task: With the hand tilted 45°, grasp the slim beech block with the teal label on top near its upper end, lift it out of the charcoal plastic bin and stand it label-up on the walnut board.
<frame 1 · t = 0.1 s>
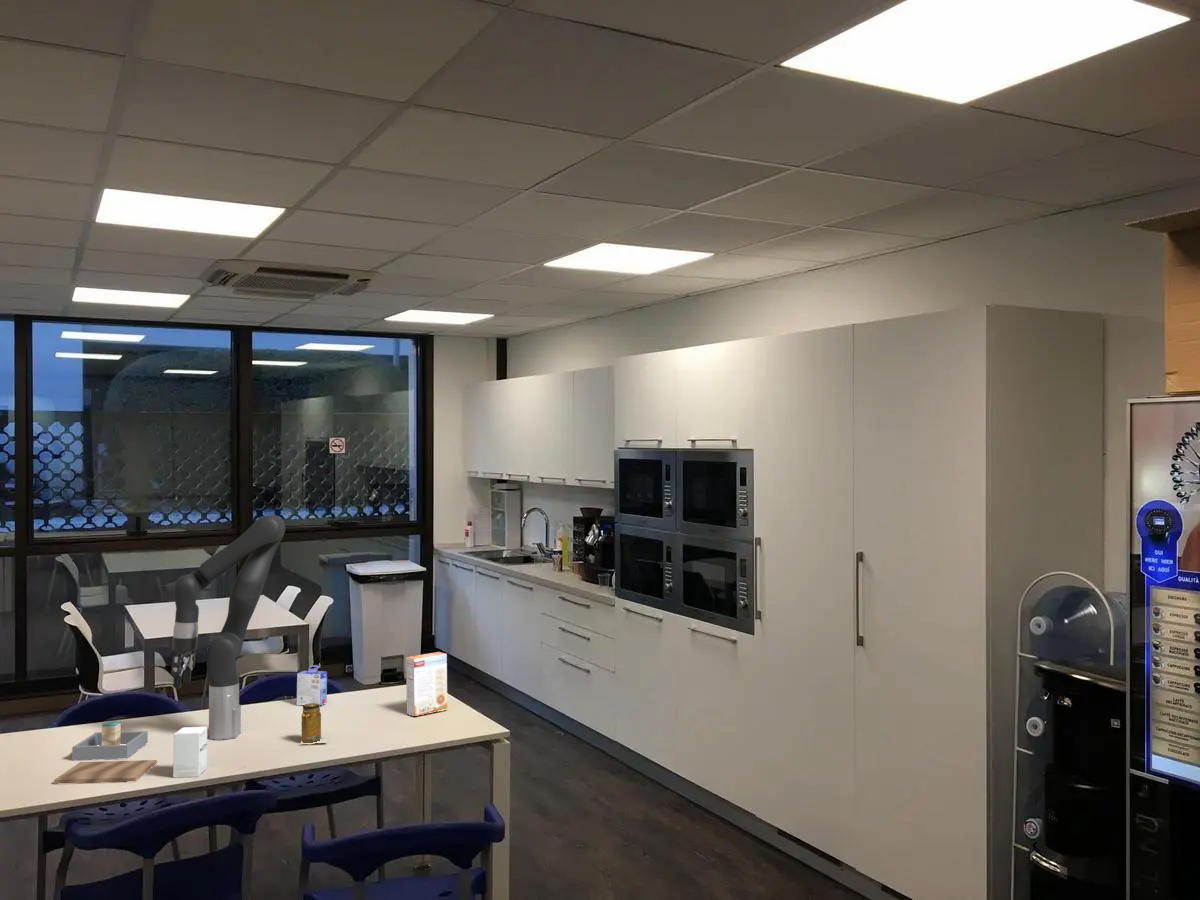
hand: (181, 684, 309), 17 cm above the table, tool pointing down, fingers open, 8 cm apart
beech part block: (111, 751, 293), resting in parts bin
parts bin: (111, 751, 294), on the table
walnut board: (107, 773, 272), on the table
ink cartridge box: (312, 705, 352), on the table
condiment: (313, 742, 304), on the table
supplement box: (190, 774, 272), on the table
cracker box: (426, 713, 340), on the table
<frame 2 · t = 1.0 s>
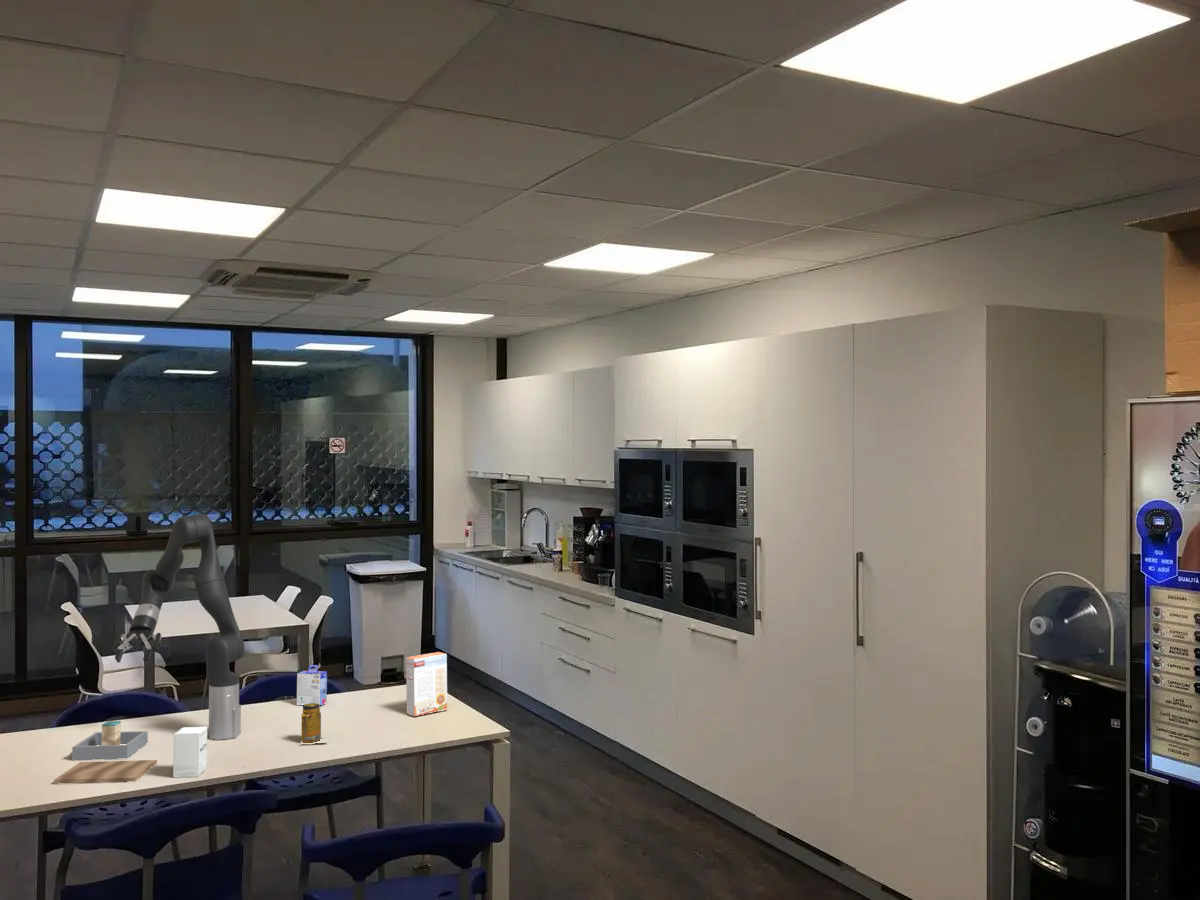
hand: (131, 661, 309), 25 cm above the table, tool tilted 45°, fingers open, 8 cm apart
nothing on the table moved.
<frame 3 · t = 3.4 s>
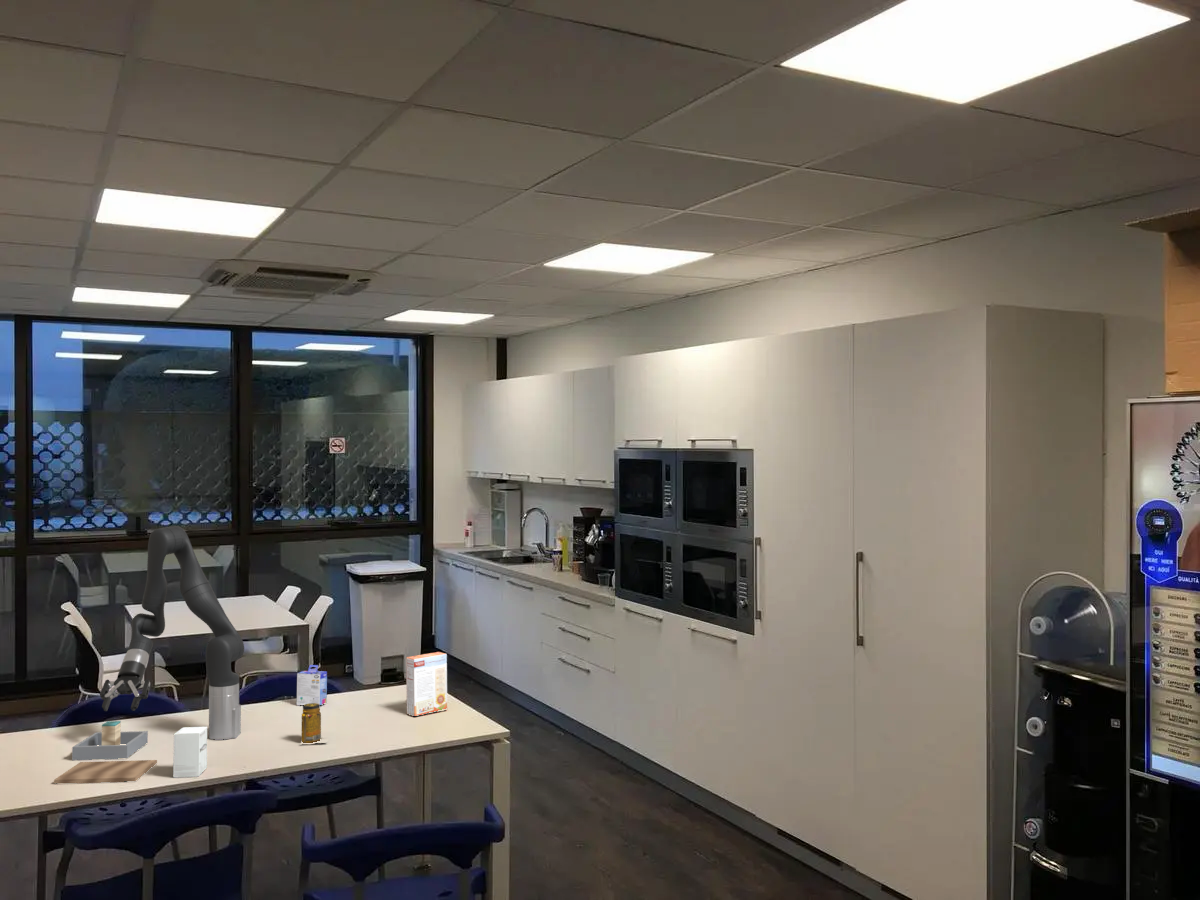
hand: (118, 709, 299), 12 cm above the table, tool tilted 45°, fingers open, 8 cm apart
nothing on the table moved.
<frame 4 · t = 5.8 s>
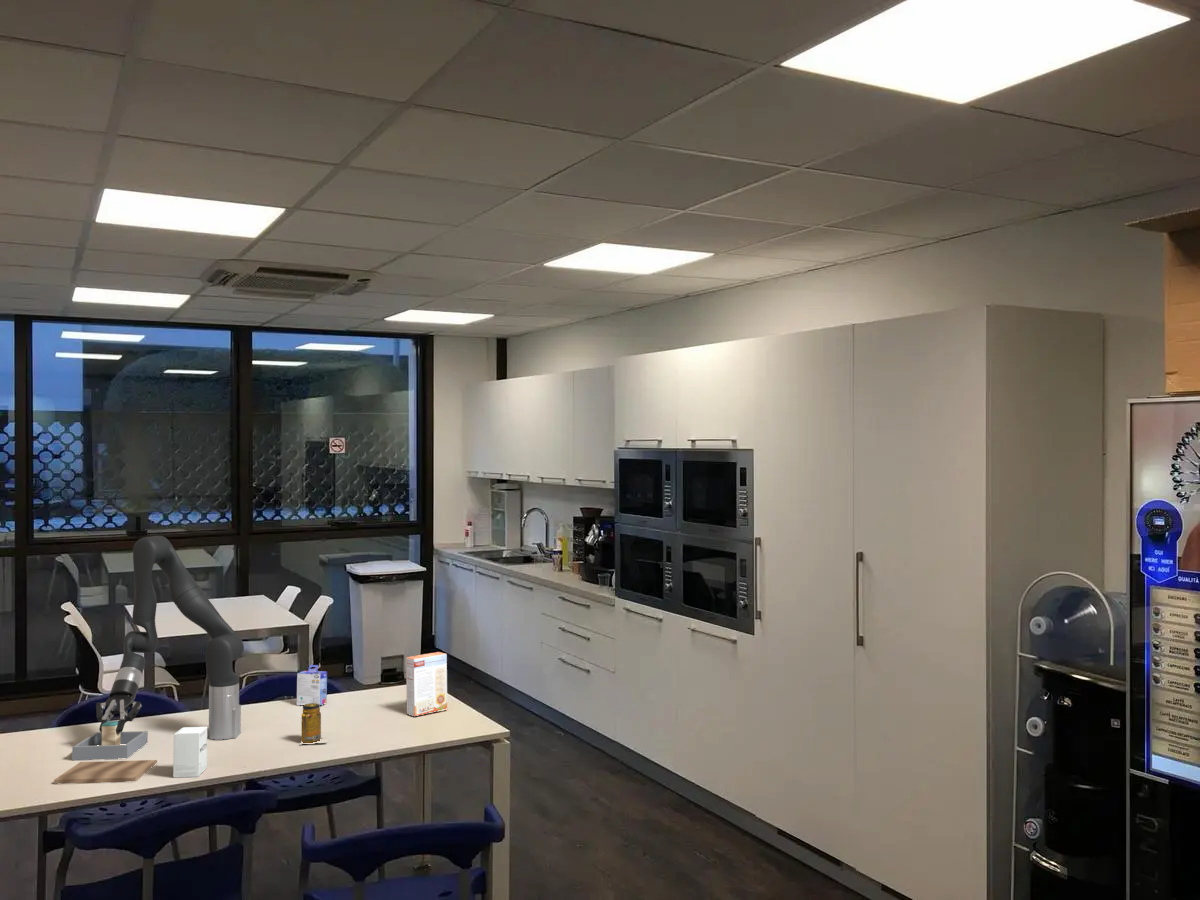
hand: (110, 732, 293), 6 cm above the table, tool tilted 45°, fingers closed on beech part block, 4 cm apart
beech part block: (111, 751, 293), resting in parts bin, touching gripper
everything else where it was.
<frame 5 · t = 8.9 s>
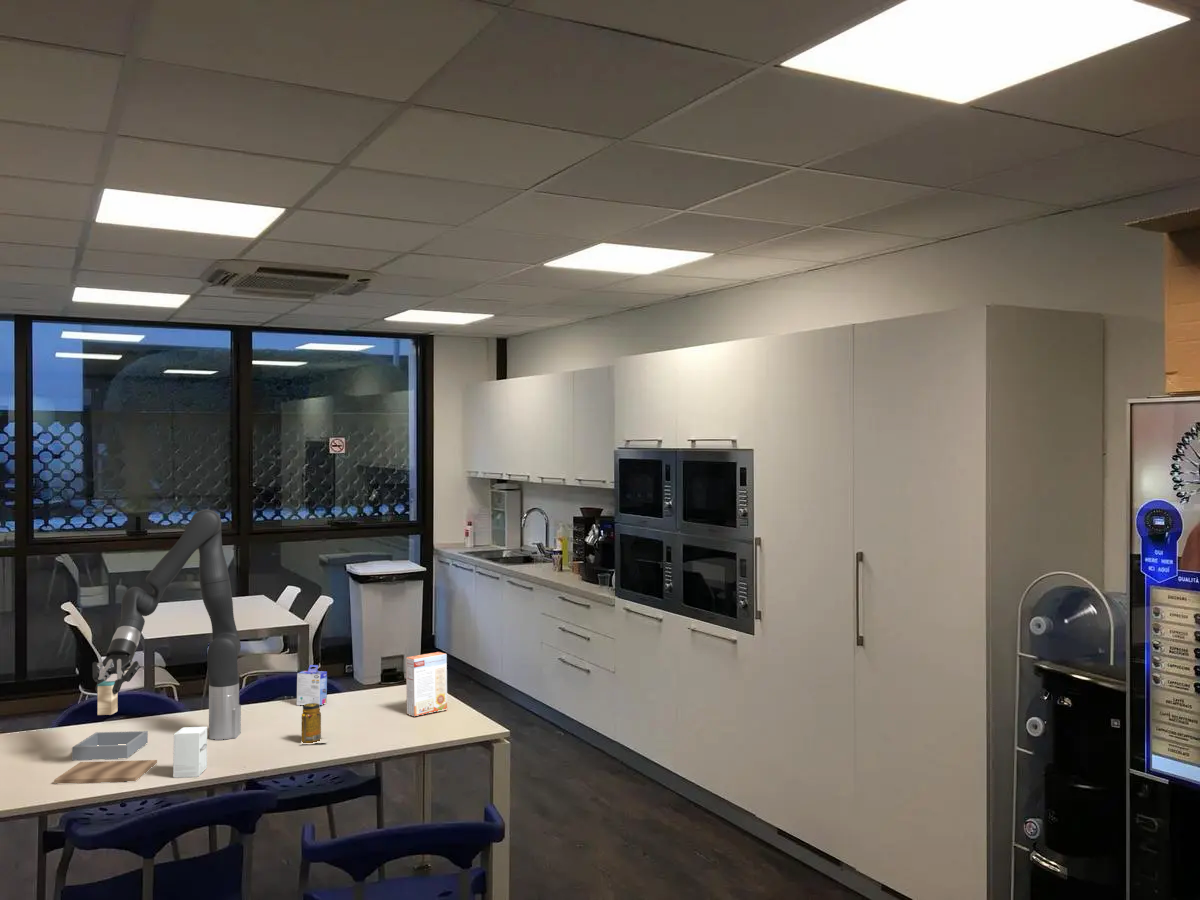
hand: (106, 692, 279), 22 cm above the table, tool tilted 45°, fingers closed on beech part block, 4 cm apart
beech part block: (107, 713, 280), point 16 cm above the table, touching gripper
everything else where it was.
when the fingers open (9 cm above the table, at t = 12.4 s): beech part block drops 1 cm, resting on walnut board.
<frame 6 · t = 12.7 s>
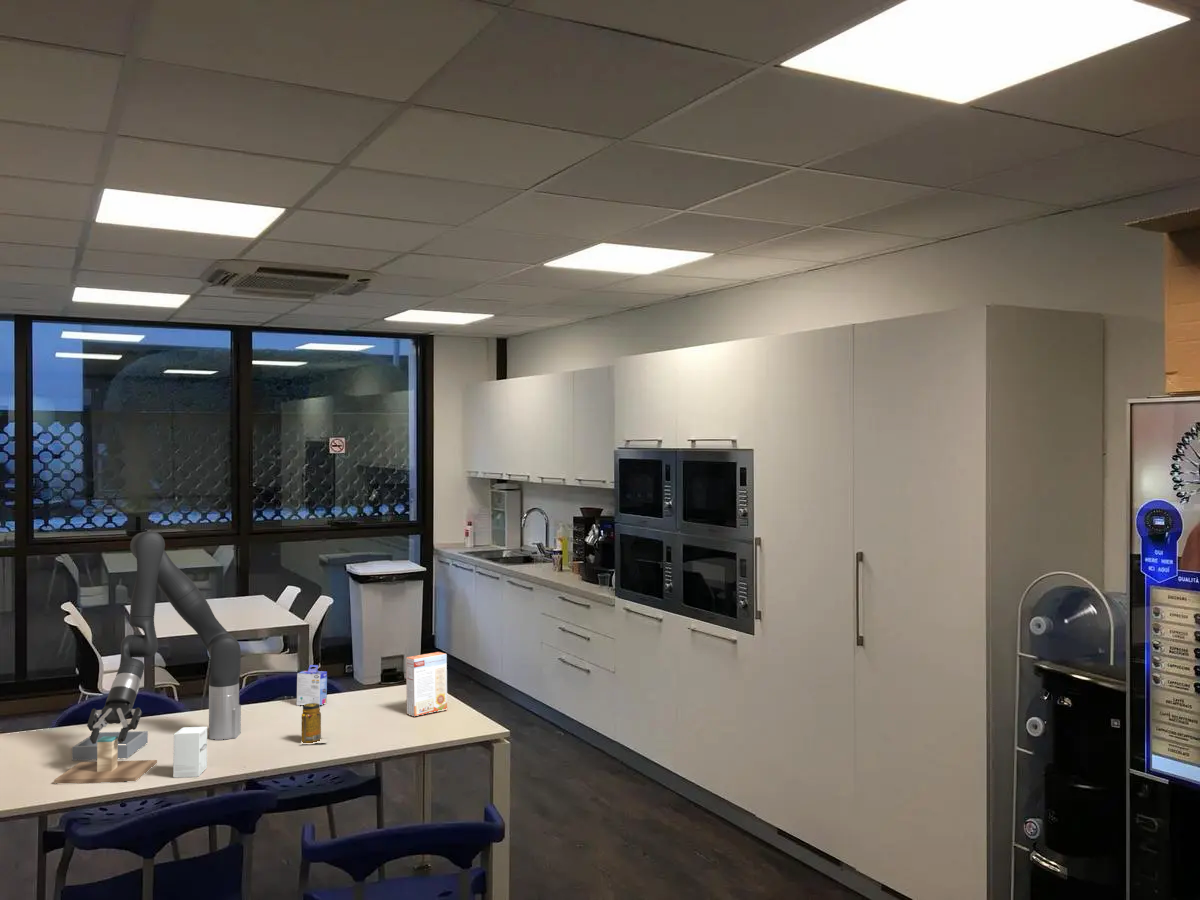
hand: (106, 741, 272), 9 cm above the table, tool tilted 45°, fingers open, 7 cm apart
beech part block: (107, 769, 272), point 1 cm above the table, touching walnut board
everything else where it was.
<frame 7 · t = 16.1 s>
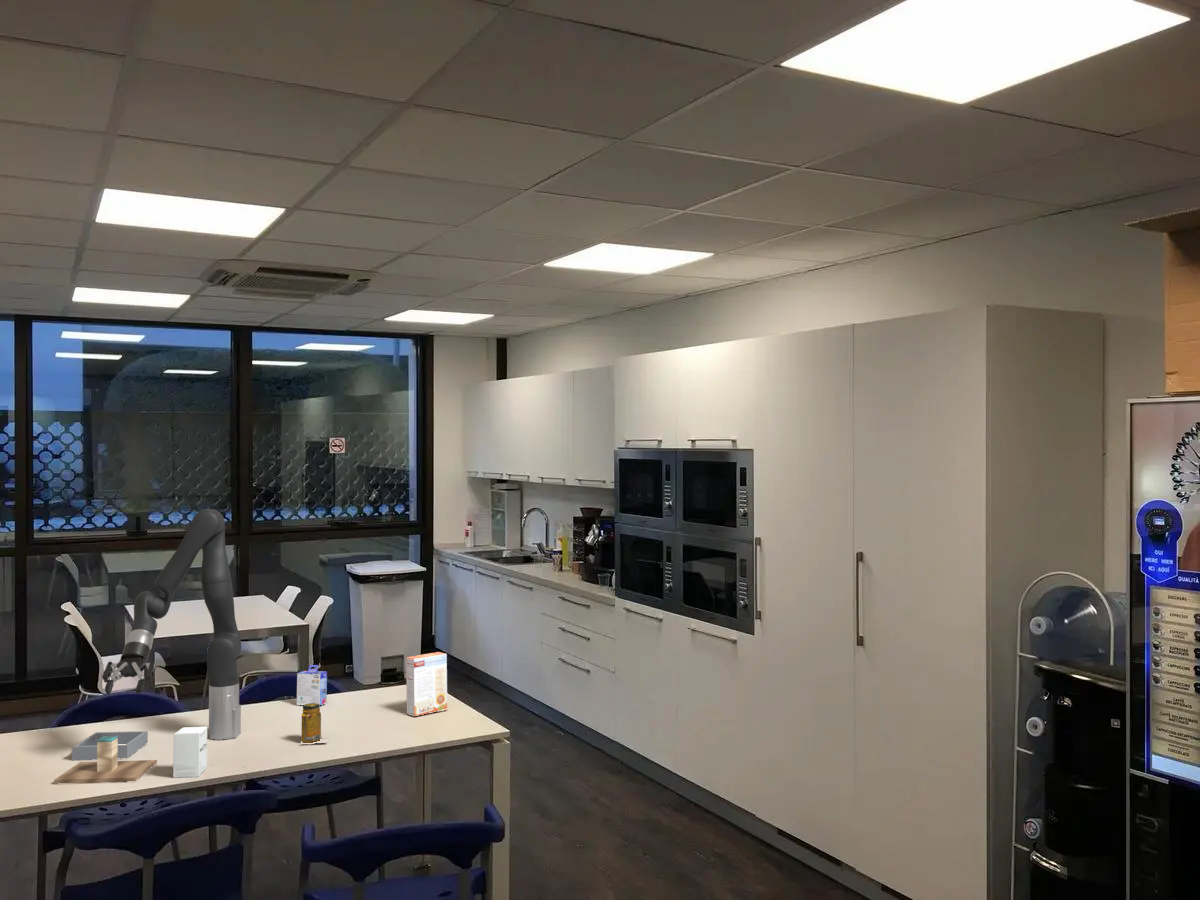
hand: (122, 692, 283), 21 cm above the table, tool tilted 45°, fingers open, 8 cm apart
nothing on the table moved.
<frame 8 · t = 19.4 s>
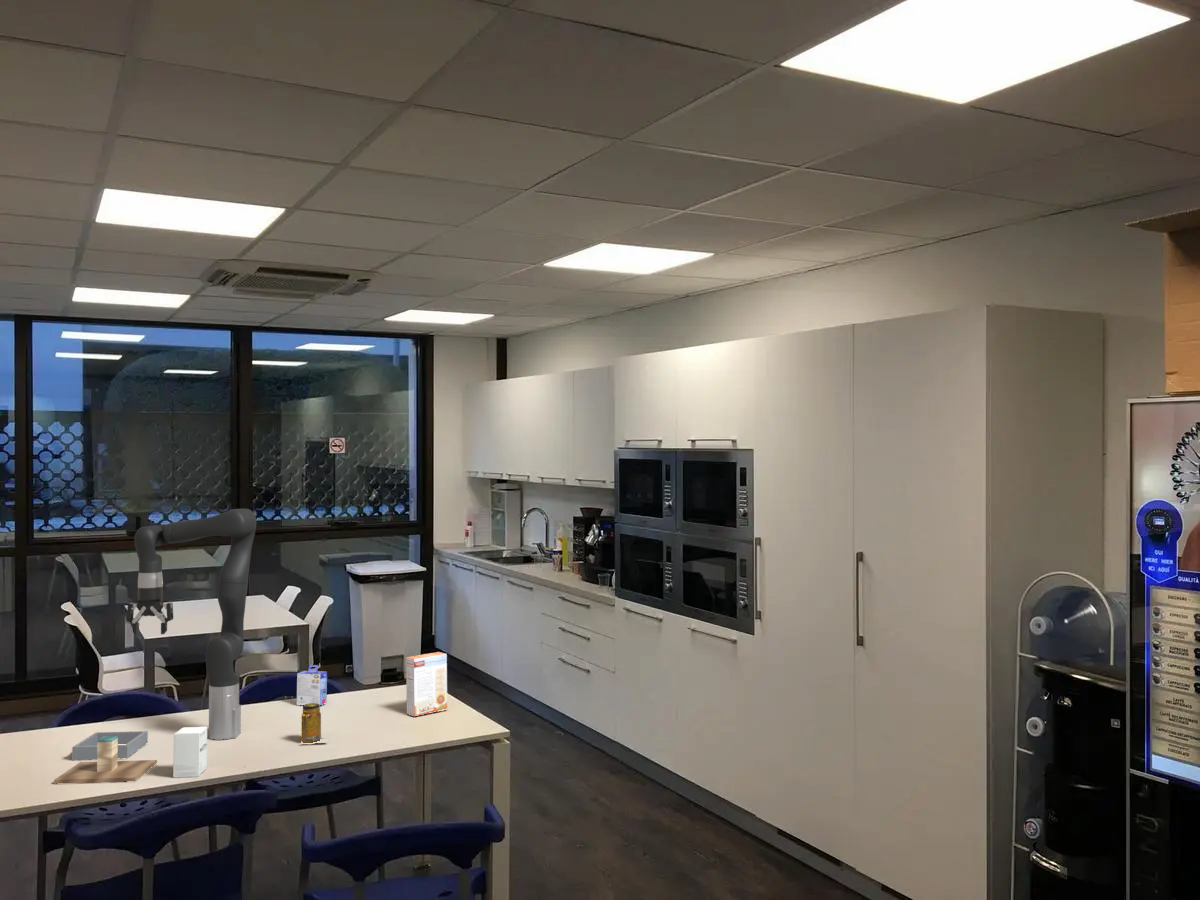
hand: (150, 634, 314), 33 cm above the table, tool pointing down, fingers open, 8 cm apart
nothing on the table moved.
at the end: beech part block inside the target area on the walnut board (0.1 cm from its centre), point 1.2 cm above the walnut board's base; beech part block tilted 0°; the gripper is holding nothing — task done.
